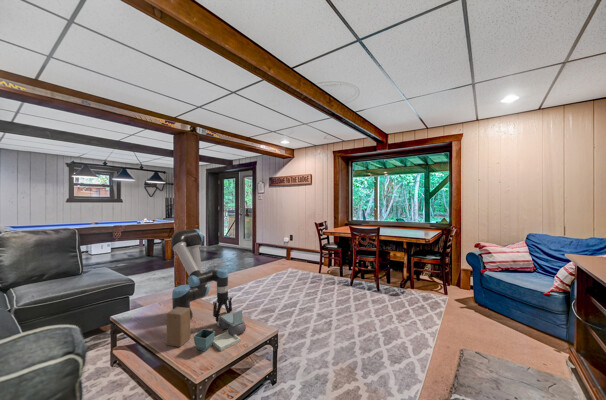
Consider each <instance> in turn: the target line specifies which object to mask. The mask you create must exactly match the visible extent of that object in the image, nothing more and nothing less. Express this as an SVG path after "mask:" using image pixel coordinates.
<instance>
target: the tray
mask: <svg viewBox="0 0 606 400" xmlns="http://www.w3.org/2000/svg"><path fill="white" fill-rule="evenodd" d="M241 339H242V338H241V337H240V336H238V335H234V336H233V337H232V336H231V335H230V334H229V333H228V330H227V331H224V332H222V333H221V334H218V335H216V336H215V335H214V341H213V343H212V345H213V346H214V347H215V348H216V349H217V350H219V352H222V351H224V350H227V349H229V348H231V347H232V346H235V345H238V344H239V343H241V341H242V340H241Z"/></svg>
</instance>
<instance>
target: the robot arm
mask: <svg viewBox="0 0 606 400" xmlns="http://www.w3.org/2000/svg"><path fill="white" fill-rule="evenodd" d="M203 241H204V235H203V232H202V231H201V230H200V229H199V228H192V229H184V230H178V231H176V232H175V233H174V234H173V235H172V237H171V240H170V246H171V249H172V251H174V252H175V253H176V255H177V256H178V258H179V260H180V262H181V264H182V265H183V268H184V270H185V271H186V273H187V275H188V277H187V284H180V285H178V286H176V287H174V289H173V290H172V295H171V297H172V310H173V309H174V308H176V307H185V308H190V320H192V318H193V317H194V315H193V310H192V308H191V302H194V301H196V300H199V299H203V298H205V297H207V296H208V295H209V293H210V284H209V283H210V282H216V301H213V302H212V304H213V309H212V310H213V311H212V316H213V317H214V318H215V322H216V326H218V327H219V320H220V317H219V314H220V312H221V309H222V307H223V306H224V308H225V312H226V313H232V311H233V306H232V303H233V302H232V300H233V298H232V296H231V297H230V296H229V271H228V269H227V268H219V269H214V268H209V269H208V270H206V271H204V272H203V268H202V267H203V266H202V260H201V258H202V257H201V251H200V247H201V246H202V243H203Z"/></svg>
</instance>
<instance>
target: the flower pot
mask: <svg viewBox="0 0 606 400" xmlns="http://www.w3.org/2000/svg"><path fill="white" fill-rule="evenodd" d="M215 332H216V331H215V330H210V329H206V328H203V329H201V330H200V331H198V332H197V333H196V334H194V335H193V341H194V343H193V344H194V345H195V348H196V349H197V350H199V351H203V352H206V351H208V350H209V349H210V348H211V347H212V345H213V344H212V343H213V341H214V337H215V335H216V333H215Z"/></svg>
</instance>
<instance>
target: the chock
mask: <svg viewBox="0 0 606 400" xmlns="http://www.w3.org/2000/svg"><path fill="white" fill-rule="evenodd" d="M226 312H227V311H222V312H221V313H219V317H220V319H221V316H223V315H225V314H228V313H226Z"/></svg>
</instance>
